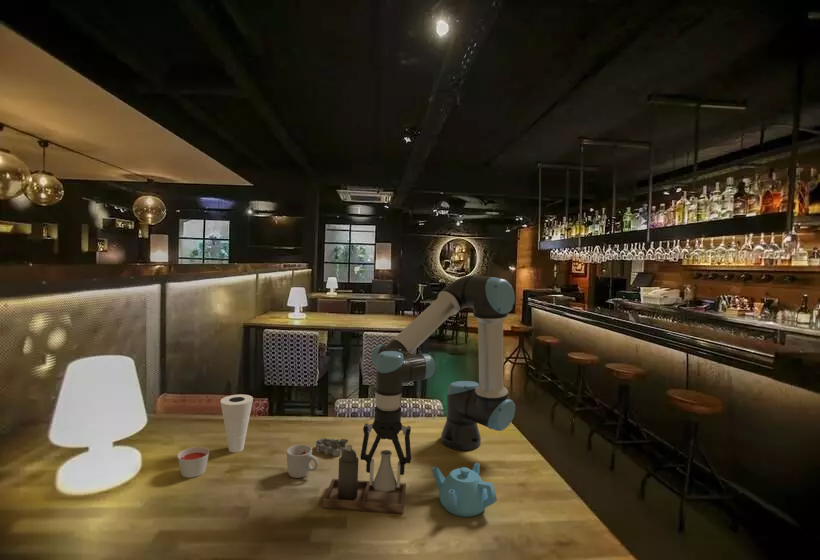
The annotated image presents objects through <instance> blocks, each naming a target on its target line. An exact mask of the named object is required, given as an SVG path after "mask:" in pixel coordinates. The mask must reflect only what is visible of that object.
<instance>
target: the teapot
mask: <svg viewBox="0 0 820 560" xmlns="http://www.w3.org/2000/svg"><path fill="white" fill-rule="evenodd" d="M480 469H481V464H480V463H479V462H475V463H474V465H473V467H472V468H471V469H470V468H469V467H464V466H463V467H458V468H454V469H453V470H451V471H450V473H449V474H448V475H446V477H445V476H444V474H442V472H441V470H440V469H439V467H435V466H433V467H432V468H431V471H432V474H433V476H434V477H433V478H434V479H435V482H436V486H437V489H438V492H439V496H438V497H439V501H440V503H441V505H442V506H443V508H444V509H445V510H446V511H447V512H449V513H450V514H452V515H454V516H457V517H461V518H462V517H464V518H470V517H476V516H478V515H480V514H481V513H483V512H484V510H485V509H486V508H487V507H489V506H490V507H491V506H492V505H493V504H495V503H496V502H497V501H498V498H497V493H496V490H495V487H494V482H489V481H483V479H482V478H481V476H480V471H481V470H480Z"/></svg>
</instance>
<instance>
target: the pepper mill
mask: <svg viewBox="0 0 820 560" xmlns="http://www.w3.org/2000/svg"><path fill="white" fill-rule="evenodd" d="M359 459H360V458H359V457H358V456H357V453H356V451H355V450H354V449H353V445H352V444H346V450H344V451H343V452H341V456H339V458H338V478H337V479H338V499H339V500H351V501H353V500H355V499H356V498H357V488H358V480H359Z"/></svg>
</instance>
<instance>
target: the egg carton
mask: <svg viewBox="0 0 820 560" xmlns="http://www.w3.org/2000/svg"><path fill="white" fill-rule="evenodd" d="M348 442H349V440H348V439H346V438H345V439H344V438H341V439H335V438H327V437H323V438H319V439H318V440H317V441H314V443H315V450H316V452H317V453H324V455H332V457H341V455H342V453H343V451H344V450H346V446H347V445H348Z"/></svg>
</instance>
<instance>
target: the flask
mask: <svg viewBox="0 0 820 560" xmlns="http://www.w3.org/2000/svg"><path fill="white" fill-rule="evenodd" d="M380 455H381V458H380V465H379V466H378V470H377V472H376V474H375V478H373V481H374V482H373V484H372V486H373V487H374V489H375V490H377V491H382V492H388V491H393V490H395V488H396V487H397V478H396V477H395V473H394V470H393V466H392V462H391V461H392V460H391V456H392V451H391V450H388V449H384V450H381V451H380Z"/></svg>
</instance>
